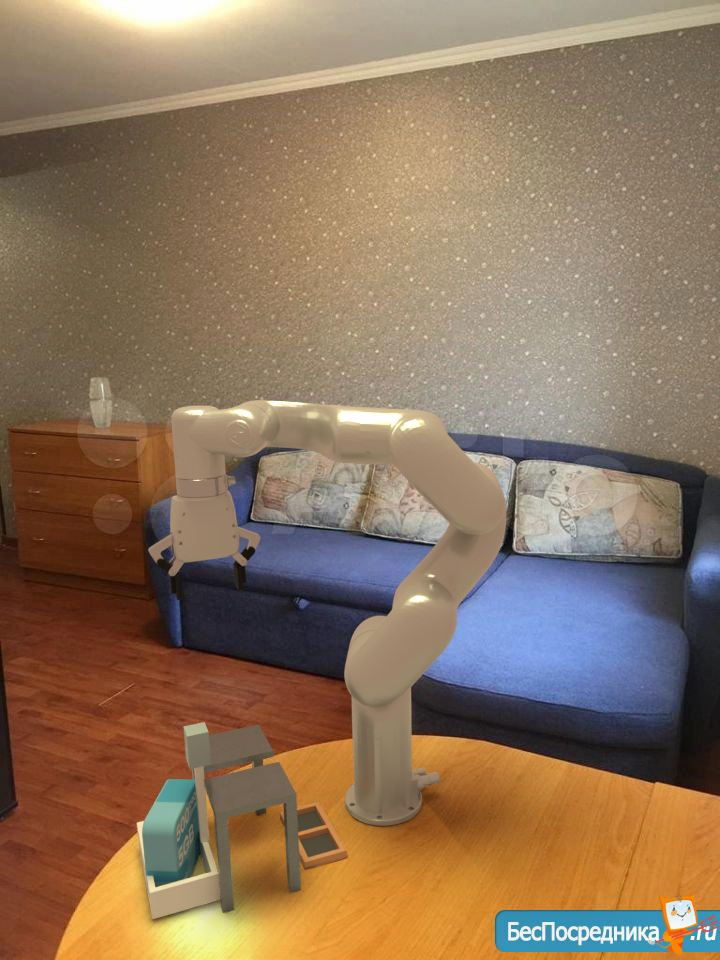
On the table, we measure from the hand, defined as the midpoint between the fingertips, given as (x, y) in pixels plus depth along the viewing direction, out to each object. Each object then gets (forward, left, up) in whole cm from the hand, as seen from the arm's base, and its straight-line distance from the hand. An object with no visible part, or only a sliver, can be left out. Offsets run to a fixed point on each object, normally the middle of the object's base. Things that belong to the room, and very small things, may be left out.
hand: (209, 592), depth 123 cm
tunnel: (0, +16, -36) cm, 39 cm away
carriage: (+10, +16, -36) cm, 41 cm away
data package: (+10, +16, -36) cm, 41 cm away
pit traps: (-10, +16, -36) cm, 41 cm away
